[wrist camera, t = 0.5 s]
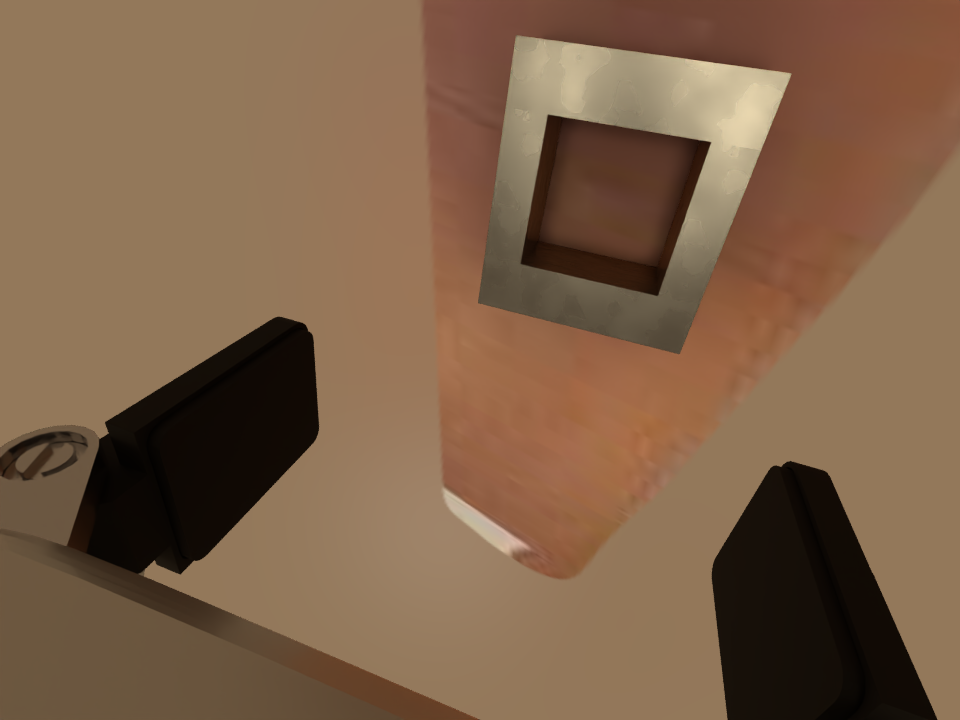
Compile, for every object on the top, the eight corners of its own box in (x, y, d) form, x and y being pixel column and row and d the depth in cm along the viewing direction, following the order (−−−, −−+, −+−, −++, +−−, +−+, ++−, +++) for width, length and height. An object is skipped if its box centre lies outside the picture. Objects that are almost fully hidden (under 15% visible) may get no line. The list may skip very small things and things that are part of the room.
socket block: (537, 44, 31) (516, 35, 26) (767, 77, 29) (791, 73, 24) (500, 276, 40) (478, 302, 35) (676, 318, 37) (679, 354, 32)
